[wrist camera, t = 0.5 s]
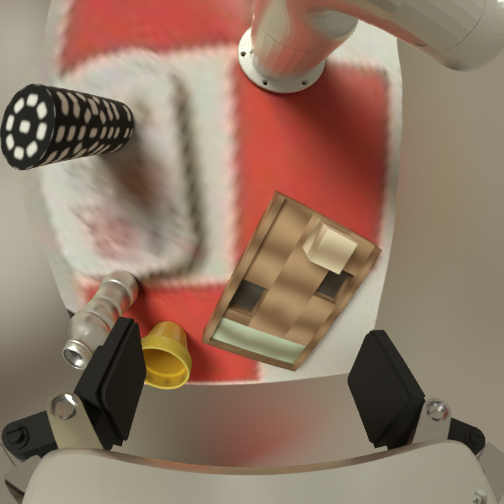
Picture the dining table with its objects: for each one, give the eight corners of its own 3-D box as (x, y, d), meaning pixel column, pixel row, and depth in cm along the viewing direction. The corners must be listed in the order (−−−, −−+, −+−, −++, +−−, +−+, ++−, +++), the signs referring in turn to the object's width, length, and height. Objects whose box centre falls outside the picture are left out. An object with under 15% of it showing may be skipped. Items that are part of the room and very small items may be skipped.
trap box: (275, 190, 40) (278, 194, 37) (373, 242, 44) (381, 250, 41) (203, 330, 49) (201, 342, 46) (292, 359, 53) (294, 371, 50)
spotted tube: (81, 145, 36) (-6, 160, 17) (98, 96, 33) (13, 81, 14) (123, 159, 37) (43, 179, 19) (141, 107, 34) (67, 88, 16)
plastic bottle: (143, 300, 47) (103, 382, 28) (110, 295, 46) (61, 370, 28) (140, 267, 44) (90, 345, 26) (105, 264, 44) (46, 333, 25)
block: (318, 217, 40) (328, 228, 35) (345, 232, 41) (357, 244, 36) (302, 246, 41) (309, 260, 37) (329, 259, 42) (339, 274, 38)
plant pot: (157, 302, 47) (142, 336, 38) (206, 330, 50) (201, 368, 40) (136, 336, 50) (121, 370, 41) (180, 361, 52) (173, 397, 43)
